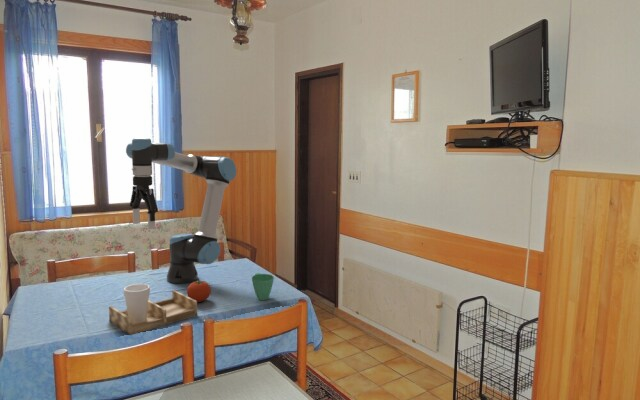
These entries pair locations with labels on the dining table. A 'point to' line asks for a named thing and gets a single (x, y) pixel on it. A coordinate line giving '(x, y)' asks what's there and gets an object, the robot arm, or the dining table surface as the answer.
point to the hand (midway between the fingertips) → (144, 226)
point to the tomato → (198, 291)
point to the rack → (156, 314)
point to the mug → (262, 285)
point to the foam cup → (137, 301)
